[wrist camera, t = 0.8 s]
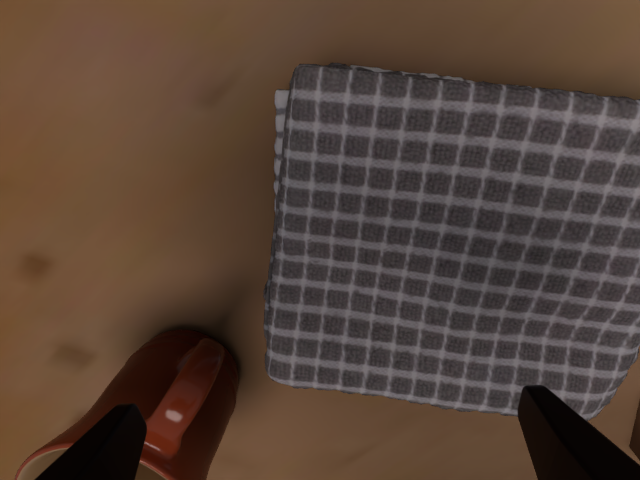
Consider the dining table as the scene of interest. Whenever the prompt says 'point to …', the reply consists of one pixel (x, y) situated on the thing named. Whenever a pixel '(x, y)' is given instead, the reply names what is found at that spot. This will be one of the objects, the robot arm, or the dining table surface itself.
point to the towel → (453, 239)
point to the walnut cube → (636, 435)
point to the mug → (164, 407)
